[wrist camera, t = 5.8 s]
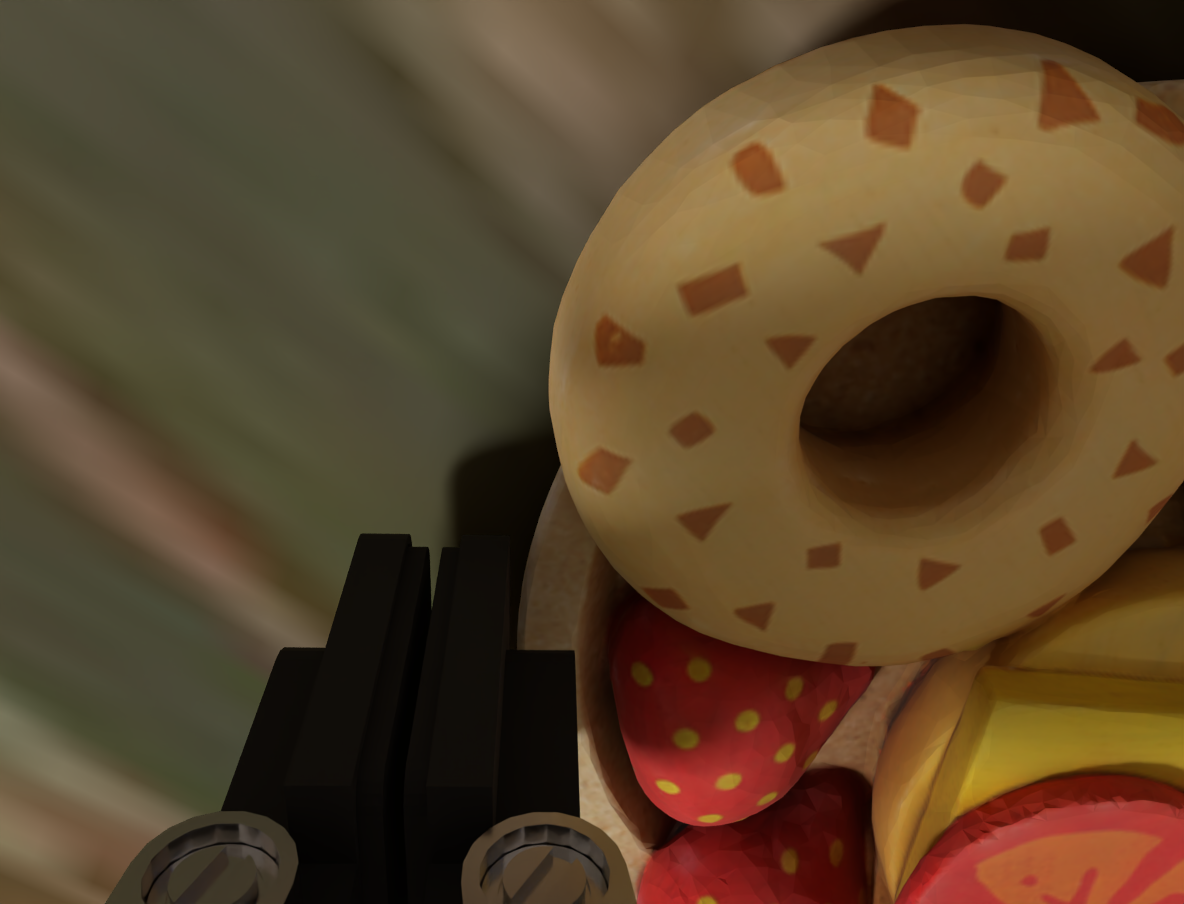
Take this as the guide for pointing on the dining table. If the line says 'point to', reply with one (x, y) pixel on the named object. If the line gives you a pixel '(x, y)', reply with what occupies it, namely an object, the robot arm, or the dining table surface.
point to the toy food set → (882, 485)
